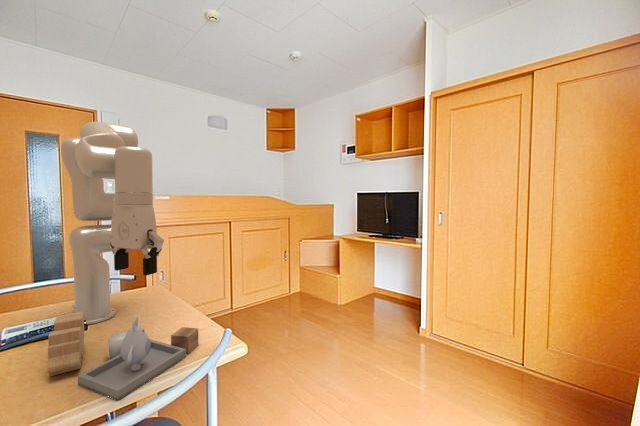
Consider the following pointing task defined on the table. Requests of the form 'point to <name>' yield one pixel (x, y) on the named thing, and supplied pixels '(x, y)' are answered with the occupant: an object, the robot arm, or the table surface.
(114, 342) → the pale grey egg shape
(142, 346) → the toy figure
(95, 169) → the robot arm
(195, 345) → the walnut cube
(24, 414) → the table surface
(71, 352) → the stepped wooden block
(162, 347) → the tray
